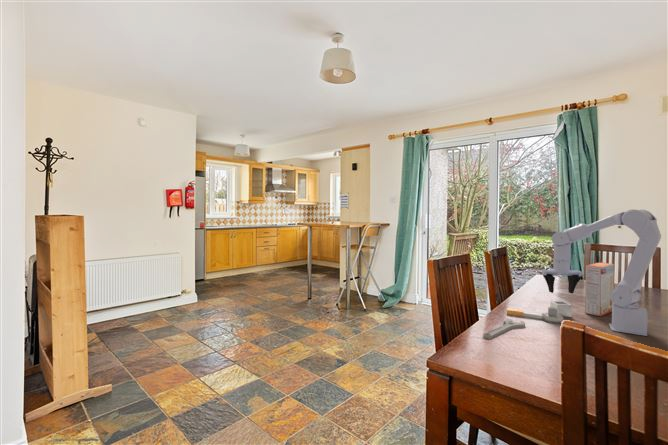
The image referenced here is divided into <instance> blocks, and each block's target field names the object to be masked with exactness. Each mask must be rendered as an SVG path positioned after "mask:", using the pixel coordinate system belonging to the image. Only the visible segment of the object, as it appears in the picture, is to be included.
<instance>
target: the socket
mask: <svg viewBox="0 0 668 445" xmlns="http://www.w3.org/2000/svg"><path fill="white" fill-rule="evenodd" d="M549 304H550V306H549V307H554V308H557V314H558V315H561V316H564V317H563V318H572V304H570V303H568V302H566V301H563V300H550V302H549Z"/></svg>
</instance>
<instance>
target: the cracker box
mask: <svg viewBox="0 0 668 445" xmlns="http://www.w3.org/2000/svg"><path fill="white" fill-rule="evenodd" d="M614 270H615V264H614V263H609V262H608V263H607V262H595V263H591V264H586V265H585V288H584V292H585V293H584V294H585V296H584V297H585V298H584V299H585V301H584V303H585V304H584V308H585V309H584V313H585V314H587V315H591V316H597V317H604V316H605V315H607V314H610V313H612V303H613V302H612V301H611V299H610V294H611V292H612V291H613V290H614V284H615V283H614V280H615V277H614V276H615V274H614V273H615V271H614Z"/></svg>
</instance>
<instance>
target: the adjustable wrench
mask: <svg viewBox="0 0 668 445" xmlns="http://www.w3.org/2000/svg"><path fill="white" fill-rule="evenodd" d="M525 327H526V322H525V321H523V320H520V322H515V321H514V320H513V318H512V319H511V318H509V319H505V320H503V324H502V325H500V326H497V327H496V328H493V329H491V330H488V331H486V332H484V333H483V338H484V339H486V340H491V339H494V338H495V337H498V336H500V335H502V334H504V333H506V332H508V331H510V330H512V329H522V328H525Z"/></svg>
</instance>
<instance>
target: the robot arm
mask: <svg viewBox="0 0 668 445" xmlns="http://www.w3.org/2000/svg"><path fill="white" fill-rule="evenodd" d="M657 220H658V219H657V217H656V216H655V215H654V214H653V213H651V212H650V211H649V210H647V209H639V210H638V209H629V210H626V211H622V212H618V213H615V214H611V215H610V216H607V217H605V218H602V219H600V220H599V219H598V220H597V221H594V222H593V223H592V222H591V223H589V224H587V223H576V224H575V226H573V227H570V228H564V229H563V231H556V232H555V233H553V234H552V236H551V242H552V243H553V245H554V246H553V267H552V268H553V269H541V275H542V276H543V279H544V280H545V282H546V285H547V288H548V292H549V293H551V294H553V293H554V288H555V285H554V284H555V280H556V277H555V276H567V281H568V287H567V288H568V293H569V294H574V292H575V288H576V287H577V285H578V283H579V282H580V280H581V277H582V276H583V271H581V270H572V269H571V245H572V243H576V242H578V241H582V240H585V239H587V238H591V236H592V235H593V233H594V232H598V231H600V230H604V229H608V228H610V227H613V226H626V227H627V228H629V229H631V231H633V232H634V233H635V235H637V237H638V238H639V239H638V242H637V244H636V246H635V248H634V251H633V253H632V255H631V258H630V260H629V263H628V265H627V268H626V270H625V272H624V275H623V277H622V279H621V280H620V281H619V283H618V284H617V286H616V288H614V289H613V291H612V292H611V294H610V299H611V301H612V302H613V303H612V312H611V323H608V326H609V328H610V329H611V331H613V332H619V333H624V334H630V335H639V336H646V337H647V336H648V310H647V309H646V308H643V307H640V306H639V304H638V302H640V300H642V294H641V290H642V288H643V286H642V282H643V280H644V277H645V276H646V272H647V271H648V269H649V266H650V264H651V261H652V259H653V257H654V254H655V253H656V251H657V248H658V246H659V243H660V241H661V239H662V234H661V230H660V228H659V225H658V221H657Z"/></svg>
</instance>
